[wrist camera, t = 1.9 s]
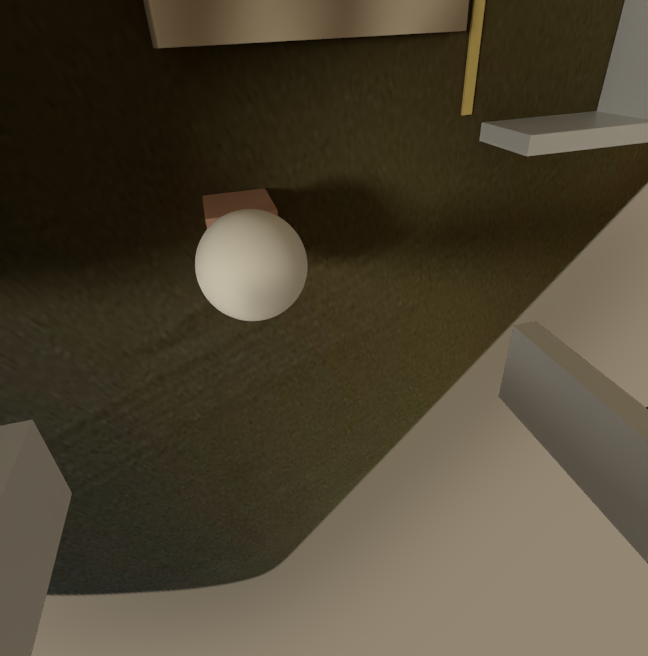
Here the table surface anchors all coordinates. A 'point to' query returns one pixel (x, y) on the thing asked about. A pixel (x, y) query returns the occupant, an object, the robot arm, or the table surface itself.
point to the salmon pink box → (236, 203)
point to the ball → (251, 264)
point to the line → (472, 56)
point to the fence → (613, 109)
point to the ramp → (295, 20)
